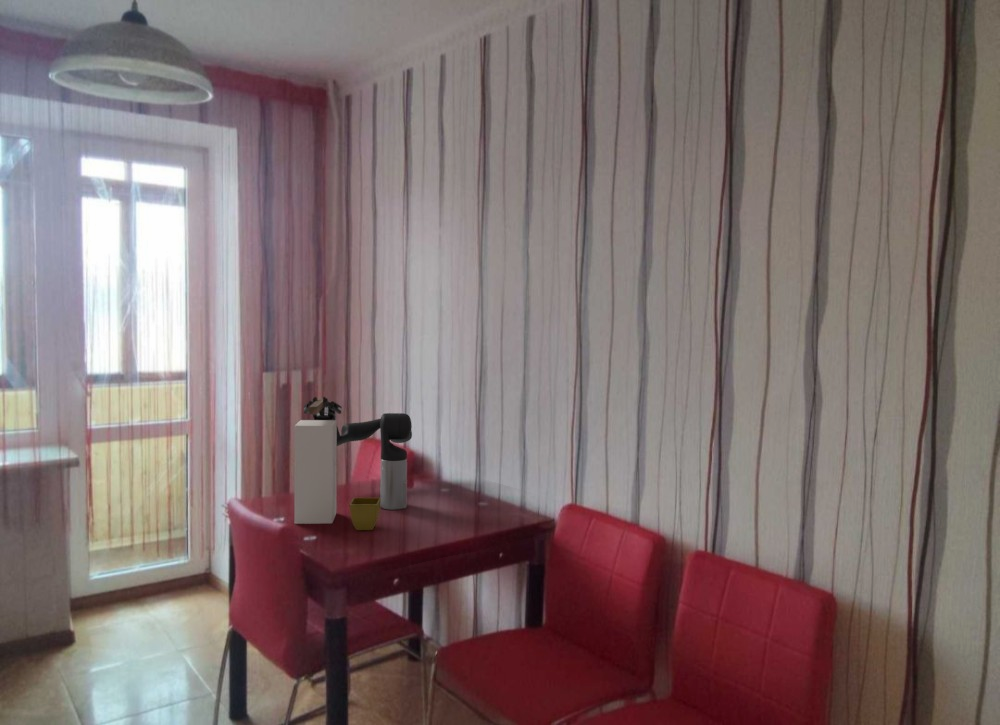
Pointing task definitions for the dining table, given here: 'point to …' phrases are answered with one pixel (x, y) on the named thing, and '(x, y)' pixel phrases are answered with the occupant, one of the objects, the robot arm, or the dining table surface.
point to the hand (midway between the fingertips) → (319, 399)
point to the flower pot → (364, 512)
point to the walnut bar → (316, 406)
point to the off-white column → (315, 471)
